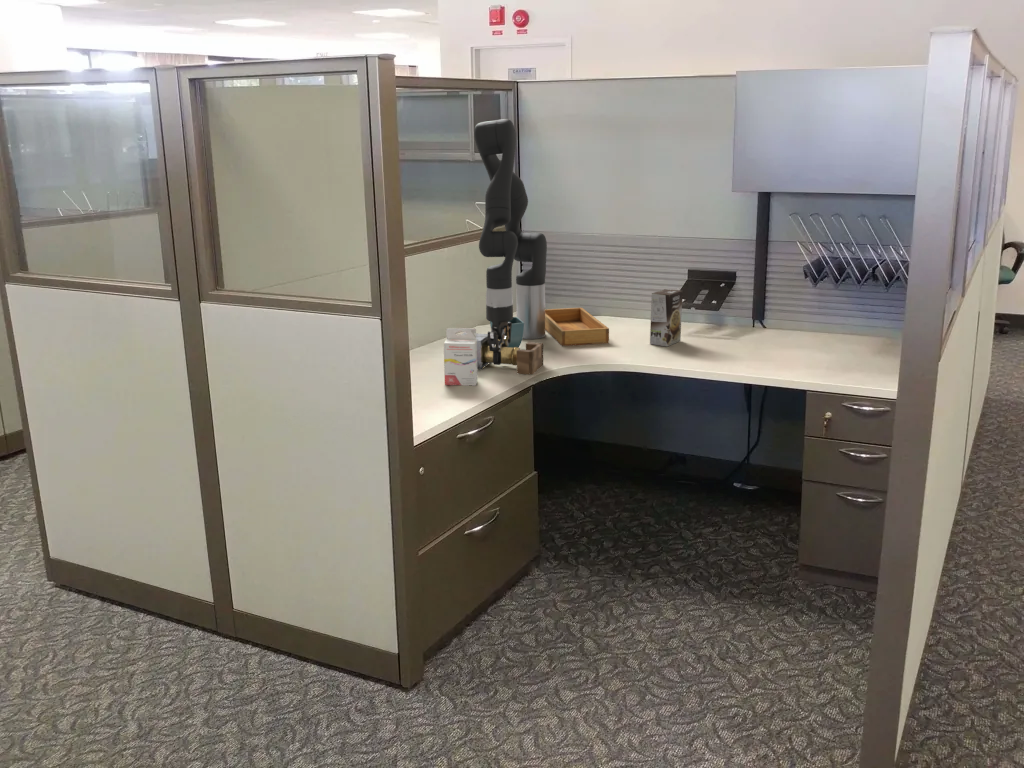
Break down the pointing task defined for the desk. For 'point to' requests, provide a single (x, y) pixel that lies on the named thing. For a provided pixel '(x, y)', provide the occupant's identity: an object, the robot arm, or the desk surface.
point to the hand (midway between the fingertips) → (500, 361)
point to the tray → (575, 327)
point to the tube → (506, 355)
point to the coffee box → (666, 317)
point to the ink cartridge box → (460, 357)
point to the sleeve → (480, 348)
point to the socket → (530, 358)
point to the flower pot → (515, 332)
